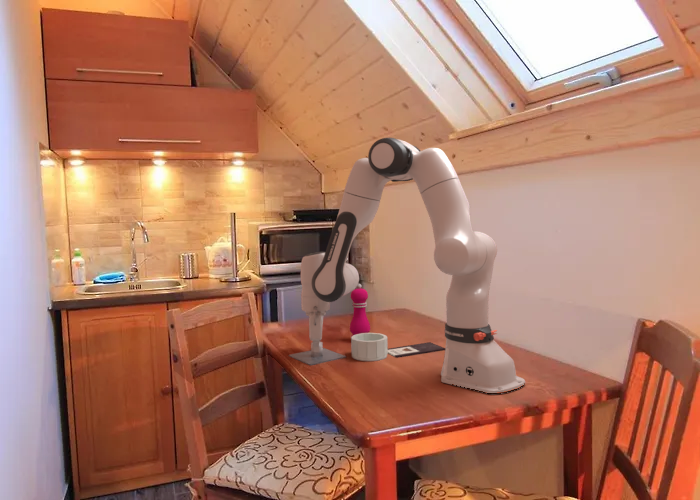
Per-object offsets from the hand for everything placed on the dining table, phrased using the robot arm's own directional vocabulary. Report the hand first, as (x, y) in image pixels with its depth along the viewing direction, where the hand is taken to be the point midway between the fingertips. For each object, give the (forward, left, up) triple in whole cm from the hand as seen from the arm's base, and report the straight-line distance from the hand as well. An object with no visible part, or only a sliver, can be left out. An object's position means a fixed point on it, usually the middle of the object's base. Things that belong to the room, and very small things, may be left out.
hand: (316, 347), depth 164 cm
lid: (0, 0, -4) cm, 4 cm away
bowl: (-10, -13, -3) cm, 17 cm away
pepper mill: (+7, -22, -3) cm, 23 cm away
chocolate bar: (-14, -28, -4) cm, 32 cm away
